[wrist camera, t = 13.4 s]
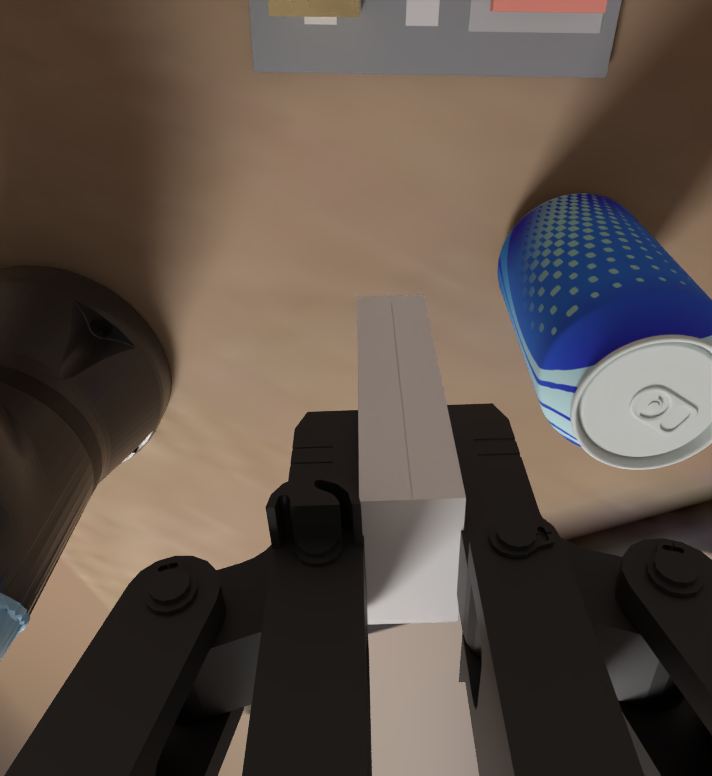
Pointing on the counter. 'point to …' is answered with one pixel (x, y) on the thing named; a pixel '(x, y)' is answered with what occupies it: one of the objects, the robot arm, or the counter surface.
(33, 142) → the counter surface
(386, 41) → the panel
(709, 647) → the robot arm
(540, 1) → the block
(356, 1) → the brass slider
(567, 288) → the beer can
